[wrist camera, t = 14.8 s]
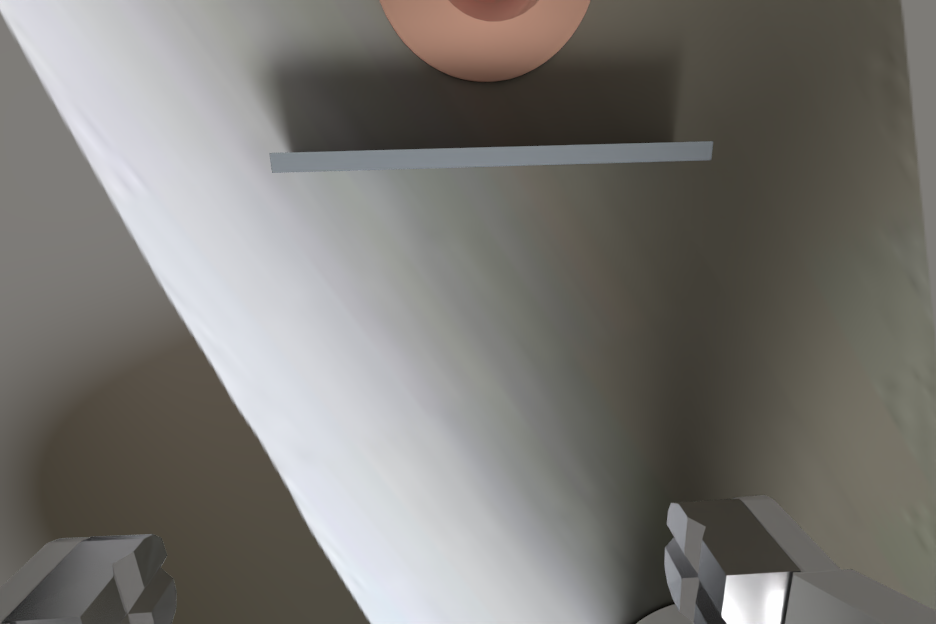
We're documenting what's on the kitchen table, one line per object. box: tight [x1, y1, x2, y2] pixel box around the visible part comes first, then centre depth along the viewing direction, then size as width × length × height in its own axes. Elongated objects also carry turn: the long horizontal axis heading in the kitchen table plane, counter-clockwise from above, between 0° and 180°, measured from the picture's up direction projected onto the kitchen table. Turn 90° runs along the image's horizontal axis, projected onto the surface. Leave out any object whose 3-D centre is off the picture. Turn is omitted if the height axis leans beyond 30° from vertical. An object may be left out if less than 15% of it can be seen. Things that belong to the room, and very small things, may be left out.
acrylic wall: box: [269, 141, 713, 173], centre depth 30 cm, size 24×1×5 cm, turn 91°
